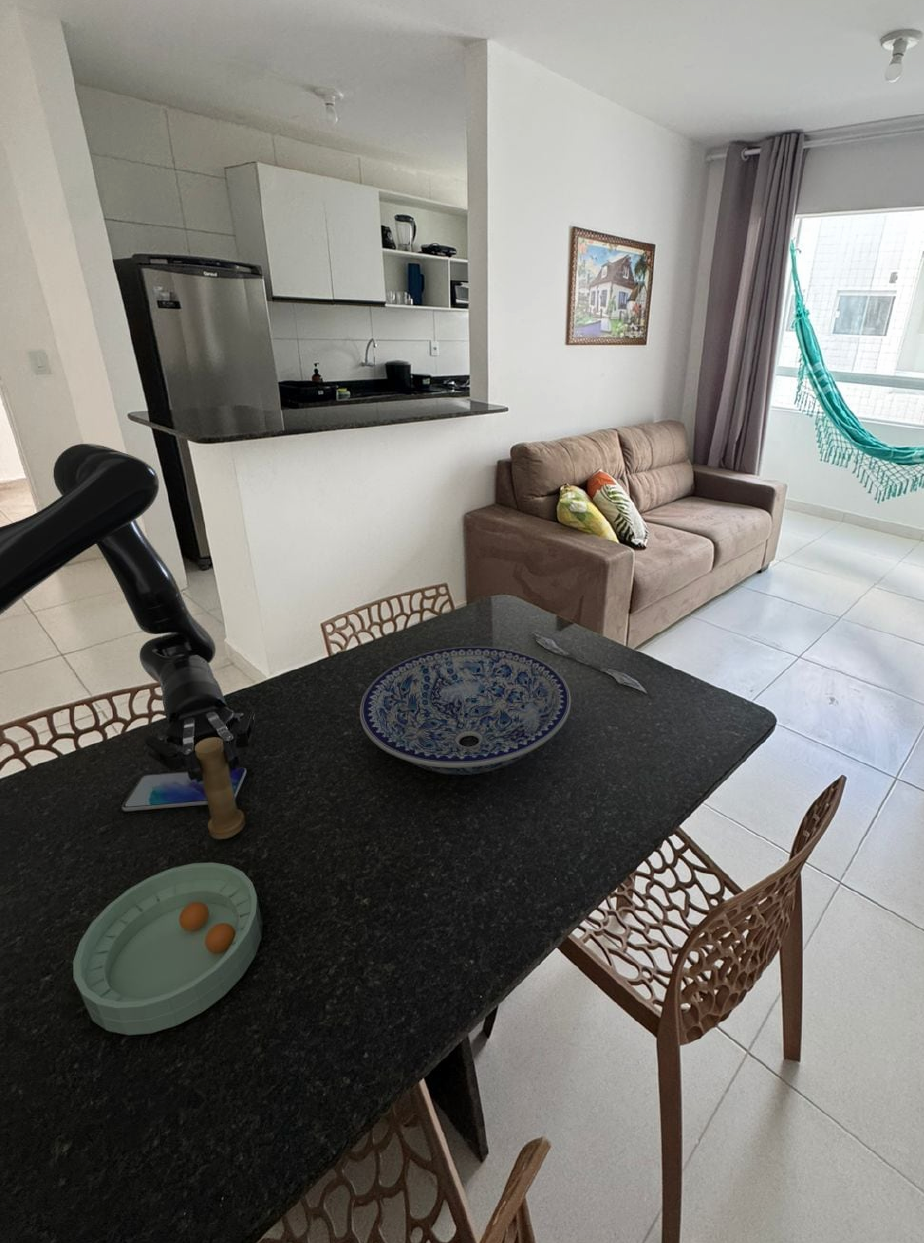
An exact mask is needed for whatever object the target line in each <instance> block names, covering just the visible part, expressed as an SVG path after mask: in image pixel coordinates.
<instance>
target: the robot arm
mask: <svg viewBox="0 0 924 1243" xmlns="http://www.w3.org/2000/svg"><path fill="white" fill-rule="evenodd" d="M53 482H54V484H55V487H56V489H57V490H58V492H59V494H60V497H58V498H57V499H55V500H54V501H53V502H51V503H50V504H49V505H48V506H46V507H44V508H42V509H41V510H39V511H37V512H35V513H34V514H31V515H29V516H26V517H25V518H22V519H20V520H17V521H14V522H11V523H8V524H6V525H2V526H0V616H1V615H3V614H4V613H5V612H6V611H8V610H9V609H10V608H11V607H12V606H14V605H15V604H16V603H17V602H19V601H20V600H21V599H22V598H24V597H25V596H26V595H27V594H29V593H30V592H31V591H32V590H34V589H35V588H37V587H38V586H39V585H41V584H42V583H43V582H45V581H46V580H47V579H49V578H50V577H51V576H53V575H54V574H56V573H57V572H58V571H60V570H61V569H62V568H63V567H65V566H66V565H68V564H69V563H70V562H71V561H73V560H74V559H76V558H77V557H78V556H80V555H81V554H83V553H84V552H86V551H87V550H88V549H90V548H92V547H93V546H95V545H96V546H97V549H98V550H99V551H100V553H101V554H102V556H103V558H104V560H105V561H106V563H107V565H108V566H109V568H110V570H111V572H112V574H113V575H114V578H115V579H116V582H117V584H118V586H119V587H120V590H121V592H122V594H123V596H124V598H125V600H126V603H127V605H128V608H129V609H130V611H131V613H132V616H133V617H134V619H135V622H136V624H137V626H138V627H139V629H140V630H141V631H142V632H144V633H146V634H150V635H159V636H156V637H154V638H151V639H149V640H147V641H146V642H144V644H143V645H142V646H141V648H140V650H139V655H138V656H139V661H140V664H141V667H142V668H143V670H144V671H145V672H146V673H147V674H148V676H150V678H152V679H153V680H154V681H156V682H157V683H158V684H159V686H160V689H161V693H162V694H161V701H162V706H163V712H164V714H165V718H166V722H167V728H166V729H165V734H163V735H160V736H159V737H156V736H155V735H151V736H148V737H146V738H145V739H144V741H145V745H146V748H147V752H148V756H149V757H151V758H152V759H154V761H156V762H157V763H159V764H161V765H162V766H164V767H166V768H167V769H168V770H170V771H177V770H179V769H180V768H181V767H184V768H186V772H188V776H189V779H190V780H194V779H196V780H197V783H198V782H201V781H203V777H202V773H201V769H200V766H199V762H198V759H197V756H196V753H195V746H196V745H197V744H198V743H199V742H200V741H202V740H204V739H207V738H212V737H217V738H220V739H221V740H222V741H223V745H224V751H225V755H226V760H227V764H228V768H229V769H230V771H233V770H236V768H237V767H236V766H238V765H240V763H241V758H240V754H239V751H238V749H239V748H241V749H244V748H247V747H248V746H249V745H250V743H251V740H252V737H253V734H254V732H255V728H256V725H257V719H256V713H255V709H254V707H251V706H249V707H247V708H245V709H244V711H243V712H238V713H237V712H235V711H234V710H232V709H230V708H229V706H228V704H227V702H226V699H225V697H224V694H223V691H222V689H221V686H220V684H219V682H218V681H217V679H216V678H215V675H214V673H213V671H212V668H211V666H210V663H211V662H212V661H213V659H214V658H215V656H216V649H217V648H216V644H215V641H214V639H213V638H212V636H211V634H209V633H208V631H207V630H206V629H205V628H204V627H203V626H202V625H201V624H200V623H199V622H198V620H197V619H195V617H194V616H193V614H192V613H191V612H190V610H189V608H188V606H187V604H186V602H185V600H184V597H183V595H182V592H181V590H180V587H179V585H178V582H177V580H176V578H175V576H174V574H173V572H172V571H171V569H170V568H169V566H168V565H167V563H166V562H165V561H164V559H163V558H162V557H161V555H160V554H159V553H158V551H157V550H156V549H155V547H154V546H153V544H152V543H151V542H150V541H149V539H148V538H147V536H146V535H145V533H144V532H143V530H142V529H141V527H140V525H139V523H138V521H137V519H138V518H139V517H141V516H142V515H143V514H145V512H147V511H148V510H149V509H150V507H151V506H152V505H153V504H154V503H155V500H156V499H157V497H158V495H159V490H160V479H159V477H158V474H157V472H156V470H155V469H154V468H153V467H152V466H151V465H150V464H148V463H147V462H146V461H144V460H142V459H140V458H138V457H136V456H134V455H131V454H129V453H125V452H122V451H119V450H118V449H117V450H116V449H114V448H111V447H108V446H106V445H105V446H104V445H101V444H96V443H79V444H78V443H77V444H75V445H72V446H70V447H68V448H66V449H65V450H64V451H62V452H61V453H60V454H59V456H57V459H56V461H55V462H54V466H53ZM236 723H237V725H238V726H237V729H236V733H235V734H232V733H231V732H230V731H231V730H232V729H233V727H234V726H235V724H236ZM169 744H172V745H174V746H178V747H182V750H181V751H177V750H176V749H175V748H173V747H172V746H170V745H169Z"/></svg>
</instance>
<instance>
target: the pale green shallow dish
mask: <svg viewBox="0 0 924 1243" xmlns="http://www.w3.org/2000/svg"><path fill="white" fill-rule="evenodd" d="M194 902H201V903H204V904H205V905H206V906H207V907H208V910H209V916H208V919H207V921H206V923H205V924H204V925H203V926H202V927H201V928H199V929H197V930H195V931H186V930H184V929H183V928H182V927H181V926H180V923H179V917H180V914H181V912H182V910H183V909H184V908H185V907H186V906H188V905H189V904H191V903H194ZM221 923H227V924H229V925H231V926H232V927H233V928H234V931H235V938H234V940H233V943H232V945H231V946H230V947H229V948H228V949H227V950H226V951H224V952H222V953H217V954H215V953H211V952H210V951H208V950H207V948H206V946H205V938H206V935H207V933H208V932H209V930H210V929H211V928H212V927H214V926H215V925H217V924H221ZM262 932H263V919H262V914H261V909H260V903H259V899H258V894H257V891H256V889H255V886H254V882H253V881H251V879H250V878H249V876H247V875H246V873H245V872H244V871H242V870H240V869H238V868H236V867H234V866H232V865H229V864H223V863H219V862H193V863H188V864H184V865H180V866H175V867H171V868H169V869H166V870H164V871H161V872H159V873H157V874H154V875H151V876H150V877H147V878H146V879H143V880H142V881H141V882H139V883H137V884H135V885H133V886H132V887H130V888H128V889H127V890H125V891H124V892H123V893H122V894H121V895H119V896H118V897H117V898H115V899H114V900H112V902H110V903H109V904H108V905H107V906H106V907H105V908H104V909H103V910H102V911H101V912H100V913H99V914H98V915H97V916H96V918H95V919H94V920H93V921H92V922H91V923H90V925H89V926H88V927H87V929H86V931H85V933H84V934H83V936H82V937H81V939H80V941H79V942H78V946H77V949H76V951H75V955H74V958H73V961H72V965H73V966H72V970H73V981H74V983H75V986H76V988H77V990H78V993H79V996H80V997H81V1000H82V1002H83V1003H82V1004H83V1005H84V1007H85V1010H86V1011H87V1013H88V1015H89V1017H90V1019H91V1020H92V1022H93V1023H94V1024H96V1025H98V1026H99V1027H101V1028H102V1029H103V1030H105V1031H108V1032H111V1033H117V1034H120V1035H126V1036H134V1035H135V1036H136V1035H148V1034H153V1033H157V1032H160V1031H163V1030H166V1029H171V1028H173V1027H176V1026H179V1025H181V1024H183V1023H185V1022H186V1021H188V1020H190V1019H192V1018H194V1017H196V1016H198V1015H200V1014H202V1013H204V1012H205V1011H206V1010H207V1009H209V1008H210V1007H212V1006H213V1005H214V1004H216V1003H217V1002H218V1001H219V1000H221V999H222V998H223V997H225V996H226V994H228V993H229V991H230V990H231V989H232V988H233V987H234V986H235V985H236V984H237V983H238V982H239V981H240V979H241V978H243V976H244V974H245V973H246V972H247V970H248V969H249V967H250V965H251V964H252V962H253V960H254V959H255V957H256V956H257V952H258V949H259V947H260V944H261V941H262V936H263V935H262Z"/></svg>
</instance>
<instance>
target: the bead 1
mask: <svg viewBox="0 0 924 1243" xmlns="http://www.w3.org/2000/svg"><path fill="white" fill-rule="evenodd" d="M208 916H209V910H208V907H207V906H206V905H205V904H204V903H201V902H194V903H191V904H189V905H188V906H186V907H185V908H184V909H183V910H182V912H181V914H180V917H179V923H180V926H181V927H182V928H183V929H184V930H186V931H195V930H197V929H199V928H201V927H202V926H203V925H204V924H205V923H206V921H207V919H208Z"/></svg>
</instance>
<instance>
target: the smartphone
mask: <svg viewBox="0 0 924 1243" xmlns="http://www.w3.org/2000/svg"><path fill="white" fill-rule="evenodd" d="M229 773H230V778H231V782H232V787H233V791H234V796H235V799H236V798H237V795H238V793H239V791H240V789H241V787H242V784H243V782H244V779H245V777H246V775H247V768H245V767H236V770H233V771H230V769H229ZM206 805H207V806H208V803H207V799H206V794H205V790H204V786H203V782H202V781H201V782H198V783H197V780H196V779H194V780H190V779H189V776H188V772H187V771H179V772H166V773H153V774H145V775H142V776H141V777H140V778H139V779H138V780H137V782H136V784H135V786H134V787H133V789H132V790H131V791H130V793H129V794H128V796H127V798H126V799H125V801H124V802H123V804H122V805H121V810H122V811H124V812H135V811H147V810H156V809H157V810H158V809H169V808H182V807H193V806H206Z"/></svg>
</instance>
